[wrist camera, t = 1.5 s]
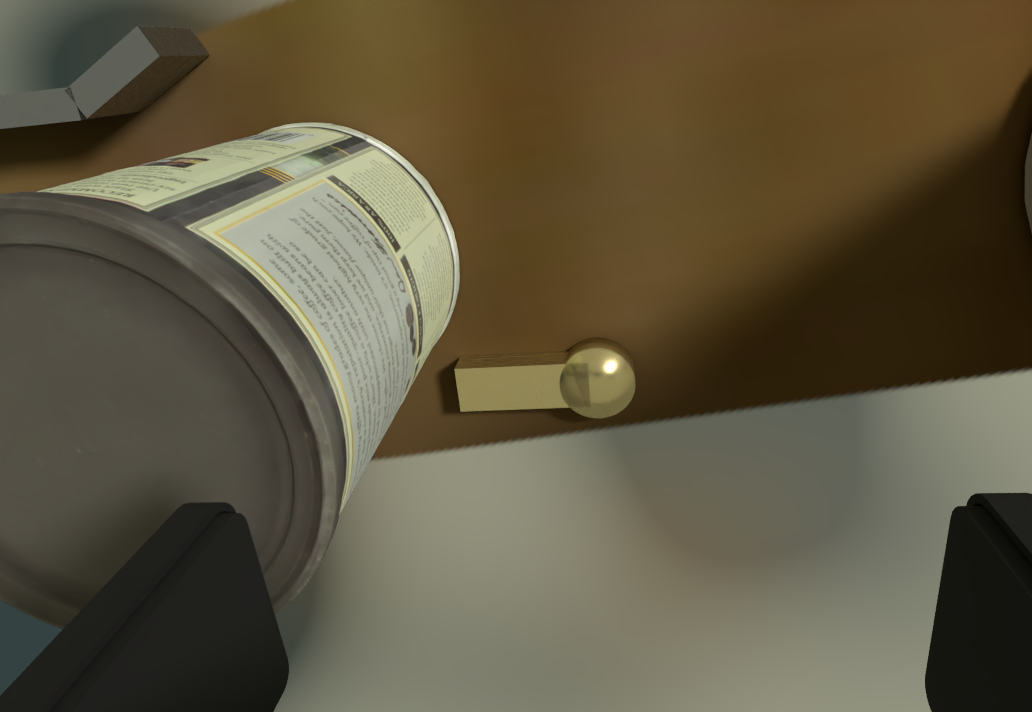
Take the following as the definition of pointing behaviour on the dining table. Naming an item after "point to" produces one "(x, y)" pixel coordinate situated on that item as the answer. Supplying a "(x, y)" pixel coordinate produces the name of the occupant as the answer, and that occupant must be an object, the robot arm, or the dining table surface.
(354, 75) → the dining table surface
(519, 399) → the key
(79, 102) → the bracket
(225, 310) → the coffee can
